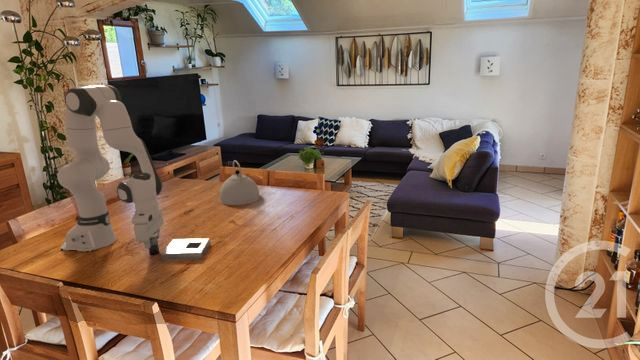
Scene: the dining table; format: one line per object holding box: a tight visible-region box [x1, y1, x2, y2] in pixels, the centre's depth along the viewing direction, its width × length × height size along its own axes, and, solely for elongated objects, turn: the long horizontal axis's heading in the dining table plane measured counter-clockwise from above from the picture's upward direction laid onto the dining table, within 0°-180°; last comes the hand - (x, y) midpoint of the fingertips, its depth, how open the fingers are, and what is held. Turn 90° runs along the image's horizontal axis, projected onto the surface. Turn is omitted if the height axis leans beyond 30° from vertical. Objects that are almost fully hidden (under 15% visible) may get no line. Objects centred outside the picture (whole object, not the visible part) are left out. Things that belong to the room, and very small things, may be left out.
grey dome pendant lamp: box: [219, 159, 261, 206], centre depth 239 cm, size 25×23×22 cm
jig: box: [161, 237, 211, 262], centre depth 175 cm, size 16×14×3 cm
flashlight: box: [148, 232, 160, 256], centre depth 174 cm, size 5×5×9 cm
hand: (153, 243), depth 174 cm, fingers open, 8 cm apart
